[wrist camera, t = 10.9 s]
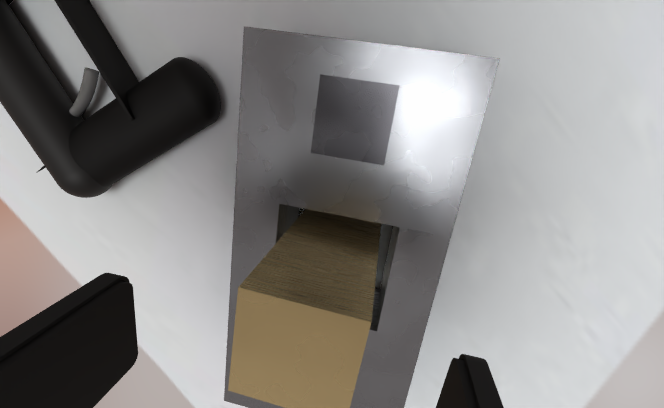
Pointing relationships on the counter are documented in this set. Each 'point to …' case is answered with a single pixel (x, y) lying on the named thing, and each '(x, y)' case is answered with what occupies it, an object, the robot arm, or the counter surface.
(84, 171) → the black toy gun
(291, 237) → the brass peg
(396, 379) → the grey peg hole block
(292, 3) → the counter surface
